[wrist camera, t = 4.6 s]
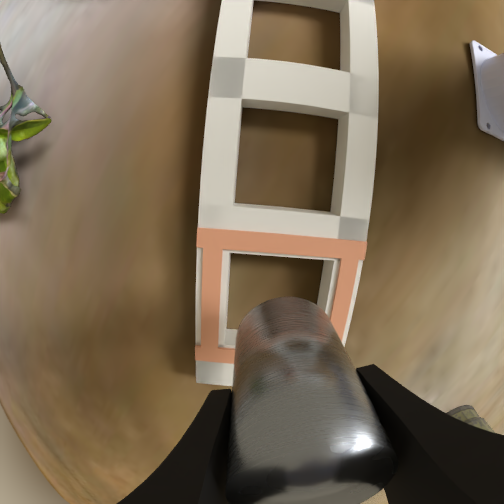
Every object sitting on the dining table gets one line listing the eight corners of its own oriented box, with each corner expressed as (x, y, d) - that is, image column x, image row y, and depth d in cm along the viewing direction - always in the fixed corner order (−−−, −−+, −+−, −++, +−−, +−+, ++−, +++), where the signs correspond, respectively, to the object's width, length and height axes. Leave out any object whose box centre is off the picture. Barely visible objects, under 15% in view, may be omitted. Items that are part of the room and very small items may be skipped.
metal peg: (331, 289, 11) (415, 420, 4) (333, 370, 12) (382, 501, 5) (227, 304, 11) (205, 457, 4) (244, 383, 12) (241, 525, 5)
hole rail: (361, -12, 13) (371, -28, 11) (326, 371, 20) (333, 389, 18) (232, -31, 13) (230, -49, 10) (200, 365, 19) (195, 384, 17)
